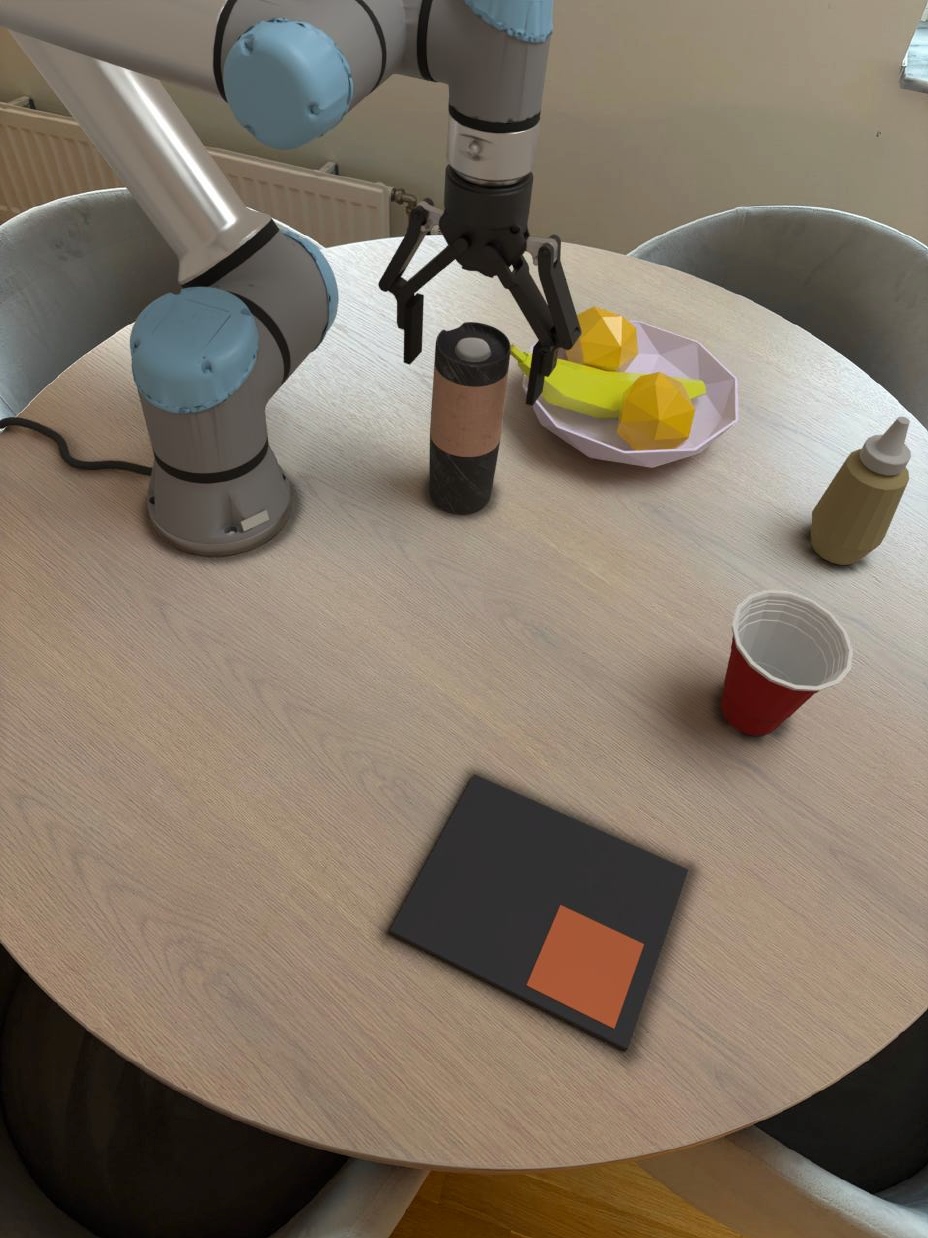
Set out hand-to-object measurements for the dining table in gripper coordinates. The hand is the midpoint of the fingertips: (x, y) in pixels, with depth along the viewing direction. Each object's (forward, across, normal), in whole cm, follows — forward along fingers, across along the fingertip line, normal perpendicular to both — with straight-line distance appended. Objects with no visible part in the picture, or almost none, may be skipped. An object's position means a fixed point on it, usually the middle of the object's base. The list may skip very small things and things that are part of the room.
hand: (472, 377), depth 96 cm
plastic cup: (+16, +38, -14) cm, 43 cm away
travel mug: (+16, 0, 0) cm, 16 cm away
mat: (+16, +27, -41) cm, 52 cm away
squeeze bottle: (+16, +41, +13) cm, 46 cm away
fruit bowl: (+16, +11, +22) cm, 29 cm away
